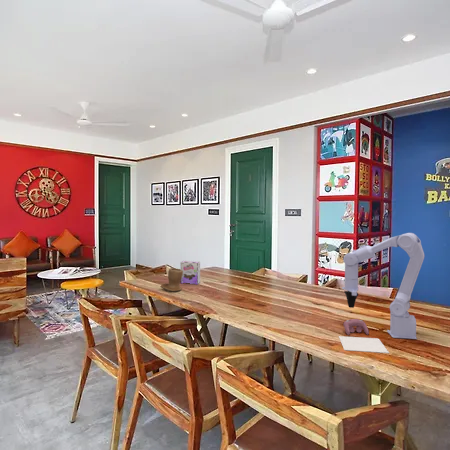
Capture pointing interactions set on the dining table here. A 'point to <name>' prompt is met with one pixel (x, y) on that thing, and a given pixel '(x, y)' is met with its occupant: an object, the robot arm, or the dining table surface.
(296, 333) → the dining table surface
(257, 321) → the dining table surface
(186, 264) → the candy box
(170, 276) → the brown hat
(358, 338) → the mat
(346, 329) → the video game controller
